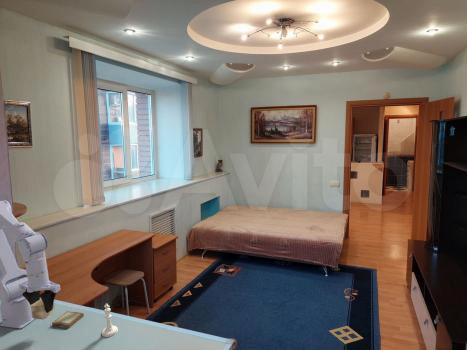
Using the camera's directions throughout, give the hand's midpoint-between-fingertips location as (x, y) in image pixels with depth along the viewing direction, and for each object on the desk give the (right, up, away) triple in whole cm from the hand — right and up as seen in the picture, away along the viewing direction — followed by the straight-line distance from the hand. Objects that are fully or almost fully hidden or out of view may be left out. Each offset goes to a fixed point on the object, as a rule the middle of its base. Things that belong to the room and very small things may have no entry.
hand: (43, 310), depth 105 cm
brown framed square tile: (+5, -7, +7) cm, 11 cm away
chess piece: (+22, -7, 0) cm, 23 cm away
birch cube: (0, -2, 0) cm, 2 cm away
